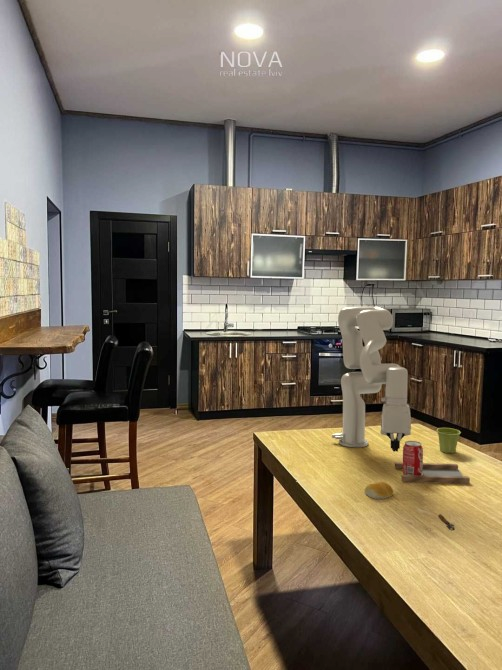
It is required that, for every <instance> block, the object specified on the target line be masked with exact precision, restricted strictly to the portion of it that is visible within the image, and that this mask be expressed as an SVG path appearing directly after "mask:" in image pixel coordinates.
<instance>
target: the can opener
mask: <svg viewBox="0 0 502 670" xmlns="http://www.w3.org/2000/svg"><path fill="white" fill-rule="evenodd" d="M438 518H439V519H440V520H441V521H442V522H443V523H444V524H445V525H446V526H445V527H446V528H447V529H448V530H450V531H454V530H455V525H454V524H451V523H450V521H448V520H447V519H446V518H445V517H444V515H442V514H438Z"/></svg>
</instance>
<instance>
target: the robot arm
mask: <svg viewBox="0 0 502 670" xmlns="http://www.w3.org/2000/svg"><path fill="white" fill-rule="evenodd" d="M337 321H338V322H337V323H338V328H339V331H340V334H341V338H342V355H343V364H344V367H345V368H346V369H348V370H349V369H350V370H351V369H352V370H357V369H358V370H359V369H360V371H352V372H347V373H343V375H342V376H341V380H340V384H341V385H340V386H341V391H342V430H341V432H340V433H332V434H331V438H332V439H335V440H338V444H340V445H341V446H344V447H346V448H364V447H367V446H368V445H369V440H368V439H366V438H365V436H366V432H365V431H366V427H365V426H366V403H365V401H364V399H363V397H361V395H365V394H376V393H379V392H380V391H381V389H382V386H383V385H385V395H384V397H381V399H380V400H381V402H383V406H382V410H381V418H380V431H379V432H380V435H383V436H386V437H388V439H390V449H392V451H393V452H399V450H400V449H401V448H400V447H401V445H400V443H401V442H400V441H402V439H403V438H404V437H407V436H410V435H411V434H412V433H411V432H412V431H411V430H412V421H411V420H412V419H411V408H410V405H409V404H408V375H409V374H408V372H409V371H408V369H407V368H405V367H403V366H401V365H399V364H397V363H381V362H382V361H381V360H382V359H381V355H380V352H379V350H381V349H382V348H384V347H385V346H386V344H387V338H386V335H385V332H384V331H388V330H390V329H392V327H393V325H394V319H393V315H392V313H391V312H390V311H389V310H388V309H385V308H383V307H382V308H381V307H379V306H348V307H343V308H341V309H340V311H339V313H338V317H337ZM363 343H364V344H363ZM394 434H396V435H394Z"/></svg>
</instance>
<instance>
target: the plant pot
mask: <svg viewBox="0 0 502 670" xmlns="http://www.w3.org/2000/svg"><path fill="white" fill-rule="evenodd" d="M436 432H437V436H438V443H439V450H440V452H442V453H445V454H450V453H451V454H454V453H457V452H456V451H457V445H458V442H459V441H458V440H459V437H460V435H461V433H462V432H461V431H460V430H459V429H457V428H456V429H455V428H451V427H438V428H437V429H436Z"/></svg>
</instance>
